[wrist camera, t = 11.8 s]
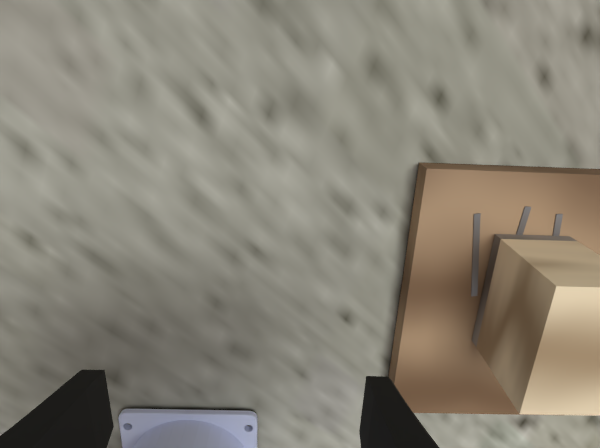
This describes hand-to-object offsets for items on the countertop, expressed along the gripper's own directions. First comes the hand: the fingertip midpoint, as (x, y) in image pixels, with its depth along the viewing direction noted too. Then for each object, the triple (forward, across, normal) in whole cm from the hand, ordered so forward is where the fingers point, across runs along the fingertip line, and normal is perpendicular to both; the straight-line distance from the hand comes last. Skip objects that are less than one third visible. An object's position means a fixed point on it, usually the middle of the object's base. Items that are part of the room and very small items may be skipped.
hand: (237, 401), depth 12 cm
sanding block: (+9, -13, +2) cm, 16 cm away
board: (+10, -12, +2) cm, 16 cm away
